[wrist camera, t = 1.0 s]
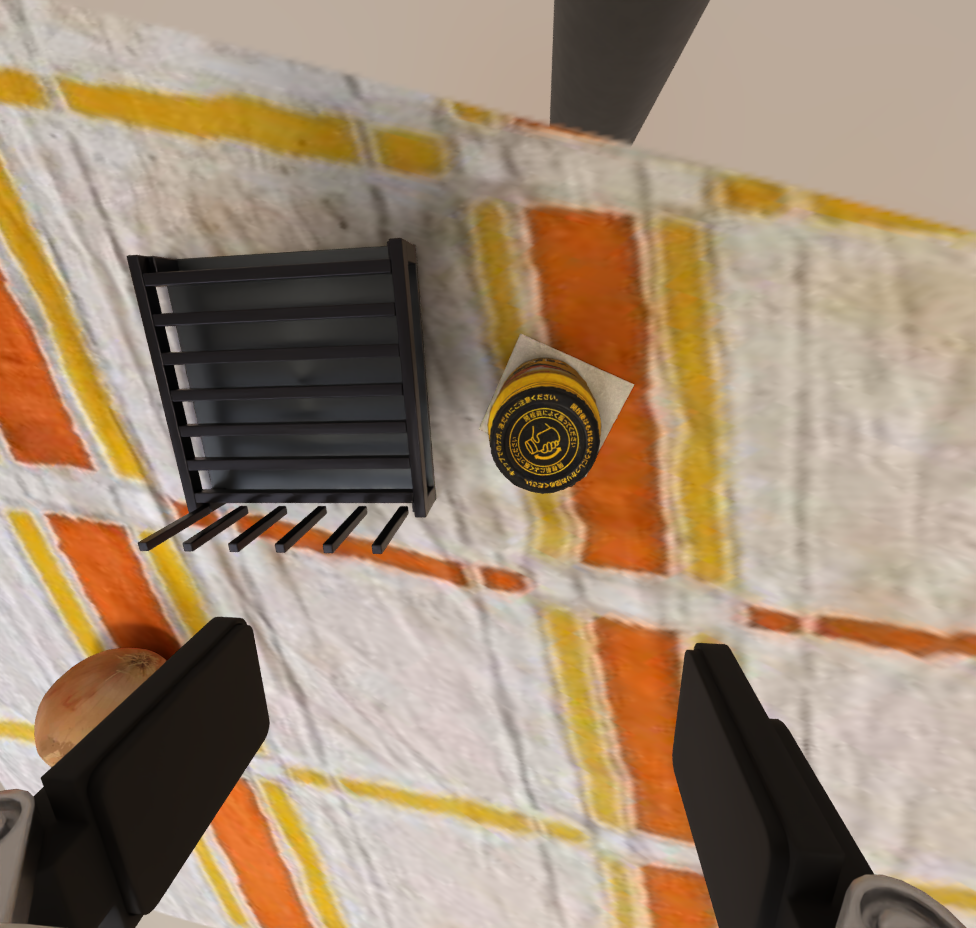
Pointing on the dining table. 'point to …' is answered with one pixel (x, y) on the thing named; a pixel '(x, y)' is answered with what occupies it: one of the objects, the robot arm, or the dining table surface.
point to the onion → (89, 697)
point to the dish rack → (293, 385)
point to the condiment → (550, 416)
